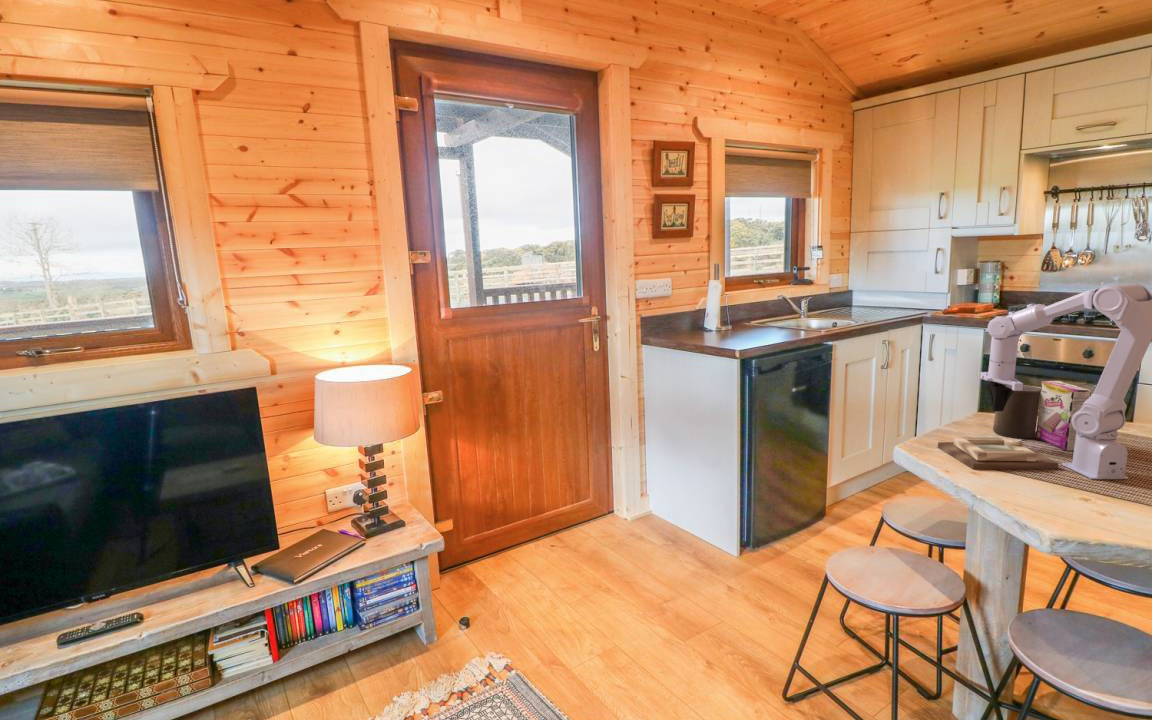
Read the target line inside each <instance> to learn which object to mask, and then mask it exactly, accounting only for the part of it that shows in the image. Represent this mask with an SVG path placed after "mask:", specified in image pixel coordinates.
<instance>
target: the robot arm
mask: <svg viewBox="0 0 1152 720" xmlns="http://www.w3.org/2000/svg"><path fill="white" fill-rule="evenodd" d="M1085 309H1088V310H1097V311H1098V312H1099V313H1101V314H1102V315H1104V316H1106V317H1107V318H1108V319H1110V320H1111V321H1113V323H1115V325H1116V326H1117V327H1118V329H1119V330H1120V332H1119V334H1118V337H1117V339H1116V341H1115V344H1114V346H1113V347H1112V350H1111V352H1110V354H1109V358H1108V359H1107V362H1106V364H1105V366H1104V367H1103V371H1102V373H1101V375H1100V378H1099V379H1098V382H1097V385H1096V387H1095V389H1094V391H1093V393H1092V394H1091V397H1089V398H1088V399H1087V400H1086V401H1085V402H1084V403H1083V406H1082V407H1081V409H1080V410H1079V411H1077V412H1076V413H1075V414H1074V415H1073V416H1072V419H1071V423H1072V426H1073V428H1074V429H1075V430H1076V438H1075V446H1074V451H1073V453H1072V454H1073V455H1072V462H1061V464H1062V466H1064V467H1065V468H1067V469H1070V470H1073V471H1074V472H1076V473H1079V474H1080V475H1083V476H1084V477H1087V478H1089V479H1091V480H1128V479H1129V477H1128V476H1127V475H1126V470H1127V463H1128V462H1127V461H1128V456H1129V453H1128V449H1127V448H1126V446H1124V445H1123V444H1121V443H1120V441H1119V440H1118V431H1119V430H1120V429H1122V428H1123V427H1124V426H1125V424H1126V414H1125V413H1126V409H1127V407H1128V406H1127V404H1126V402H1125V398H1126V396H1127V393H1128V391H1129V390H1130V387H1131V385H1132V383H1133V380H1134V378H1135V376H1136V374H1137V372H1138V370H1139V367H1140V366H1141V363H1142V361H1143V359H1144V357H1145V355H1146V352H1147V351H1148V349H1149V347H1150V344H1151V342H1152V293H1151V291H1150V290H1148V288H1147V287H1145V286H1144V285H1142V284H1140V283H1126V284H1117V285H1104V286H1102V287H1100V288H1099V287H1098V288H1093V289H1089V290H1086V291H1083V292H1081V293H1078V294H1074V295H1073V296H1071V297H1067V298H1064V299H1062V300H1060V301H1059V300H1058V301H1056V302H1054V303H1052V304H1049V305H1045V304H1042V303H1037V304H1036V303H1035V302H1034V303H1030V304H1027V305H1026V308H1023V309H1020V310H1017V311H1015V310H1013V311H1009V312H1008V314H1007V315H1005V316H1004V315H1003V316H1002V315H999V316H995V317H994V318H991V319H990V320H989V322H988V323H987V331H988V334H989V335H990V336H991V341H990V349H989V350H990V351H989V352H990V353H989V361H988V362H989V364H988V371H980V376H979V379H980V380H984V381H987V382H990V383H985V384H984V388H985V390H986V392H987V394H988V397H989V401H990V406H991V411H994V412H995V411H1003V410H1004V408H1005V405H1006V403H1007V401H1008V399H1009V397H1010V396H1011V395H1012V393H1013V392H1014V391H1022V389H1023V385H1024V383H1023V382H1021V381H1019V380H1018V379H1016V378H1015V375H1016V365H1017V364H1016V363H1017V356H1018V355H1017V354H1018V347H1019V345H1018V344H1019V341H1020V337H1021V336H1022V335H1023V334H1025V333H1029V332H1031V331H1034V330H1037V329H1038V330H1039V329H1040V328H1044V327H1047V326H1049V325H1050V324H1052V322H1053V321H1054V319H1055V318H1058V317H1061V316H1064V315H1068V314H1071V313H1075V312H1077V311H1082V310H1085Z"/></svg>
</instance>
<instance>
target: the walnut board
mask: <svg viewBox="0 0 1152 720" xmlns="http://www.w3.org/2000/svg"><path fill="white" fill-rule="evenodd" d="M953 442H954V441H944V442H941V441H938V442H937V448H938V450H939V449H940V450H941V451H942V452H944V453H946V454H947V455H949V456H950V457H953V458H954V459H955V460H957V461H958V462H960V463H962V464H964V465H965V466H967V467H969V469H970V468H971V470H1058V468H1059V462H1057V461H1055V460H1053V459H1051V458H1050V457H1046V456H1045V455H1043V454H1040V452H1039V453H1038V452H1036V451H1034V450H1032V449H1030V448H1028V449H1029V450H1031V451H1033V452H1035V453H1037V456H1036V461H988V460H976V459H975V458H973V457H972V456H970V455H969V454H967V453H966V452H964V451H962V450H961V449H959V448H958V447H956V446H955V445H953Z"/></svg>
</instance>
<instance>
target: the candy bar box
mask: <svg viewBox="0 0 1152 720" xmlns="http://www.w3.org/2000/svg"><path fill="white" fill-rule="evenodd" d="M1040 385H1041V386H1040V389H1041V392H1040V400H1039V408H1038V416H1037V424H1036V432H1035V438H1036V439H1038V440H1041V441H1043V442H1045V443H1047V444H1050V445H1052V446H1054V447H1056V448H1058V449H1061V450H1063V451H1065V450H1066V452H1074V446H1075V438H1076V430H1075V429H1074V428H1073V426H1072V423H1071V419H1072V416H1073V415H1074V414H1075V413H1076V412H1077V411H1079V410H1080V409H1081V407H1082V406H1083V403H1084V402H1085V401H1086V400H1087V399H1088V398H1089V397H1091V396H1092V392H1093V390H1091V389H1088V388H1085V387H1081V386H1078V385H1074V384H1071V383H1068V382H1065V381H1061V380H1042V381H1041V384H1040Z"/></svg>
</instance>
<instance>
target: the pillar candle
mask: <svg viewBox="0 0 1152 720" xmlns="http://www.w3.org/2000/svg"><path fill="white" fill-rule="evenodd" d="M1040 394H1041V387H1037V386H1032V385H1027V384H1023V389H1022V391H1014V392H1013V393H1012V395H1011V396H1010V397H1009V399H1008V401H1007V403H1006V405H1005V408H1004V410H1003V411H994V412H995V413H994V421H993V427H992V430H993V432H994V433H995V434H997V435H999V436H1002V437H1003V436H1004V437H1006V438H1014V439H1018V440H1019V439H1020V440H1023V439H1025V440H1026V439H1034V438H1036V430H1037V421H1038V412H1039V403H1040Z"/></svg>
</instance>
